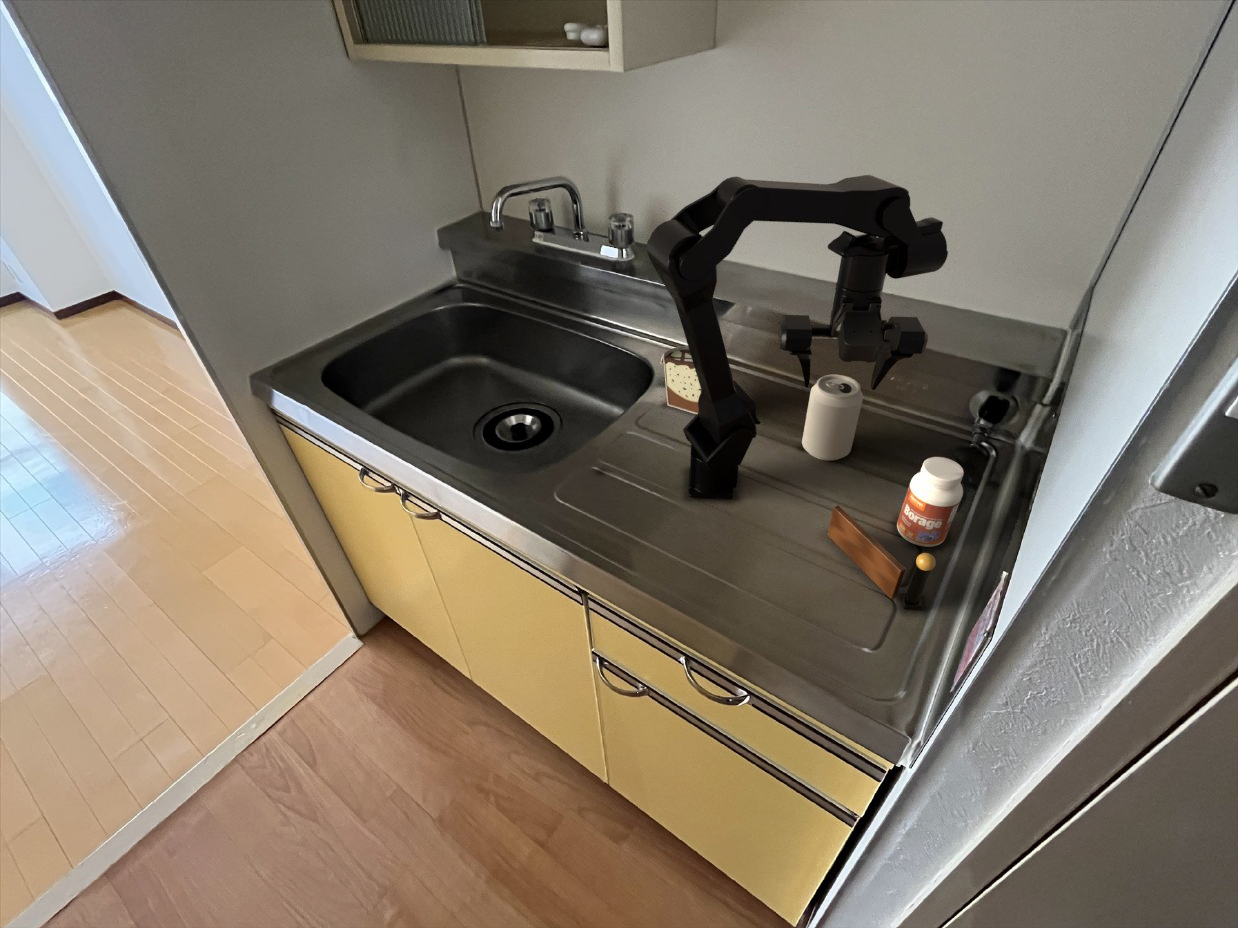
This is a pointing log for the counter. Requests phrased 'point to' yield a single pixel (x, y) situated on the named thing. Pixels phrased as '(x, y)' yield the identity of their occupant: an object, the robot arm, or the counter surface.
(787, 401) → the counter surface
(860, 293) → the robot arm
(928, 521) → the pill bottle
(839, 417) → the can
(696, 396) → the food container
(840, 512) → the door
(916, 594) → the yellow topped black post
